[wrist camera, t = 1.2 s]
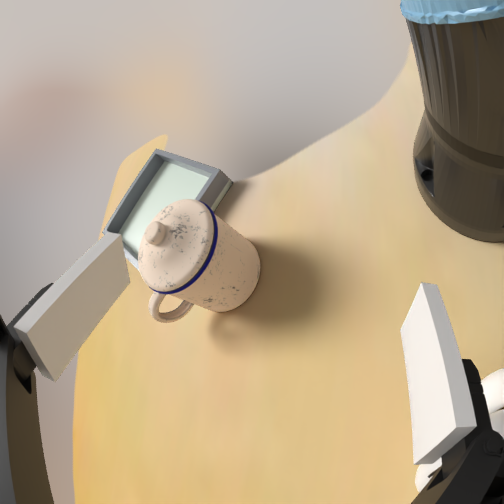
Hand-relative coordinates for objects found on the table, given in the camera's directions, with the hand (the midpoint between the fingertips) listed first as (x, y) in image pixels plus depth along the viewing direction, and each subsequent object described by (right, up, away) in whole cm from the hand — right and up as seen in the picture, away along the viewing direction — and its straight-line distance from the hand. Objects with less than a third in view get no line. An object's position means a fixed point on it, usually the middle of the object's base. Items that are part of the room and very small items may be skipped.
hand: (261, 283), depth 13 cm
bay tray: (-13, +7, +31) cm, 34 cm away
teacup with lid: (-4, -2, +22) cm, 22 cm away
